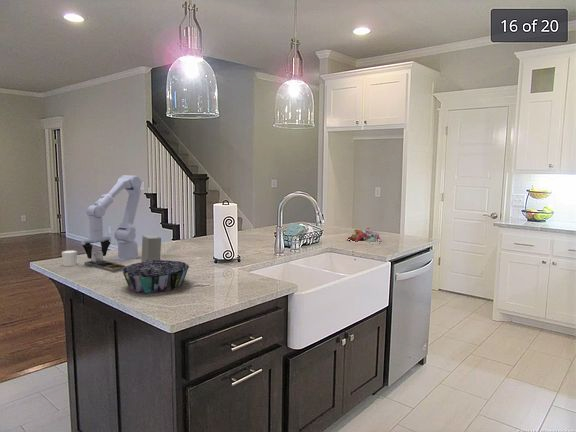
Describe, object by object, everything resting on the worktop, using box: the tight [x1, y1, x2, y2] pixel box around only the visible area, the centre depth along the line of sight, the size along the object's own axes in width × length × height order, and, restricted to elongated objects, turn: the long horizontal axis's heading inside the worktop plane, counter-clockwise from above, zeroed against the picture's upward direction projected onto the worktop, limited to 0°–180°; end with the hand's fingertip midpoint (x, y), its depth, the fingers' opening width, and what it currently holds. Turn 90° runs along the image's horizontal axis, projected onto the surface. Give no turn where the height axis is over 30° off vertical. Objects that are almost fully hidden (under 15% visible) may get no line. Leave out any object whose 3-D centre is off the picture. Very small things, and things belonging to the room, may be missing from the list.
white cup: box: [61, 249, 78, 267], centre depth 206 cm, size 7×7×7 cm
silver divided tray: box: [84, 259, 127, 274], centre depth 205 cm, size 8×24×2 cm, turn 56°
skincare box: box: [141, 234, 162, 262], centre depth 205 cm, size 8×7×16 cm
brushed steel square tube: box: [90, 250, 104, 264], centre depth 209 cm, size 4×4×6 cm
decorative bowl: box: [121, 259, 190, 294], centre depth 177 cm, size 26×28×10 cm
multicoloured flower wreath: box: [347, 227, 381, 243], centre depth 294 cm, size 25×24×9 cm
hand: (96, 257), depth 208 cm, fingers open, 7 cm apart
